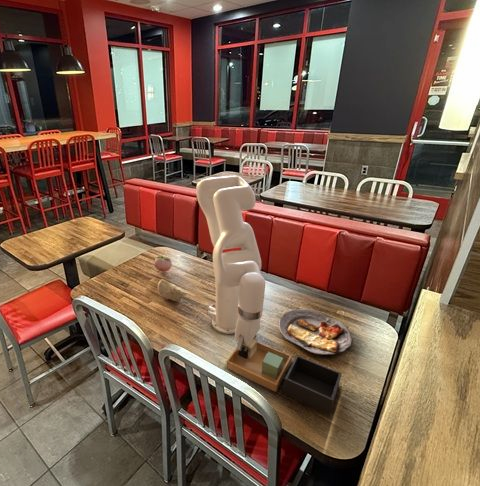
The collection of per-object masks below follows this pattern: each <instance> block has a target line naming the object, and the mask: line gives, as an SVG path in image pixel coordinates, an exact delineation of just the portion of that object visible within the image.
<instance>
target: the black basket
mask: <svg viewBox="0 0 480 486" xmlns="http://www.w3.org/2000/svg"><path fill="white" fill-rule="evenodd" d="M342 374H343V373H342V372H340V371H337V370H335V369H333V368H331V367H328V366H325V365H322V364H321V363H318V362H316V361H313V360H311V359H309V358H305V357H303V356H300V355H298V354H296V356H295V357H294V360H293V362H292V363H291V365H290V367H289V369H288V371H287V374H286V375H285V378H284V383H283V390H282V394H284V395H286V396H288V397H289V398H292V399H294V400H297V401H299V402H301V403H302V404H305V405H307V406H308V407H310V408H313V409H315V410H317V411H319V412H321V413H323V414H326V415H327V416H329V417H330V416H331V413H332V410H333V406H334V403H335V400H336V396H337V393H338V390H339V386H340V382H341V378H342Z"/></svg>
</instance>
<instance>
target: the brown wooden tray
mask: <svg viewBox="0 0 480 486" xmlns="http://www.w3.org/2000/svg"><path fill="white" fill-rule="evenodd" d="M268 352H270V353H273V354H275V355H277V356H280V357H282V358H283V364H282V370H281V372H280V374H279V376H278V377H277V379H274V378H272V377H270V376H268V375H265V374H263V373H262V361H263V360H264V358H265V356H266V355H267V353H268ZM292 356H293V355H291V354H289V353H286V352H284V351H282V350H279V349H276V348H274V347H273V346H272V347H271V346H269V345H267V344H265V343H261V342H260V341H257V348H256V351H255V353H254V354H253V356H252V357H251V359H248V358H247V359H245V358H243V357H241V356H239V355H238V353H237V349H236V348H235V349H234V351H233V352H232V353H231V354H230V355H229V357H228V358H227V360H226V363H225V367H226V369H228V370H229V371H231V372H234V373H236V374H238V375H240V376H242V377H243V378H246V379H248V380H250V381H252V382H254V383H256V384H258V385H260V386H262V387H264V388H266V389H269V390H270V391H272V392H274V393H277V391H278V389H279V387H280V385H281V383H282V381H283V379H284V377H285V376H286V373H287V372H288V370H289V368H290V366H291V364H292V358H293V357H292Z"/></svg>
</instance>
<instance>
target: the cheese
mask: <svg viewBox="0 0 480 486" xmlns="http://www.w3.org/2000/svg"><path fill="white" fill-rule="evenodd" d="M157 291H158V293H159V294H160V295H161V296H162V297H164V298H165V300H167V301H168V300H171V301H173V302H179V301H180V299H181V298H182V297H183V296H187V295H188V292H187V291H185V290H183V289H182V288H181V287H179V286H177V285H175V284H174V283H172V282H169V281H167V280H165V279H163V278H161V279H160V280H159V281H158V283H157Z"/></svg>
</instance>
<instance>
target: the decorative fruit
mask: <svg viewBox="0 0 480 486" xmlns="http://www.w3.org/2000/svg"><path fill="white" fill-rule="evenodd" d="M154 258H155V259H154V262H153V265H154V267H155V269H156V270H157V271H160V272H162V273H165V272H168V271H170V269H171V268H172V264H173V262H172V259H171V258H170V257H169V256H168V255H164V254H161V255H155V257H154Z"/></svg>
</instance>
